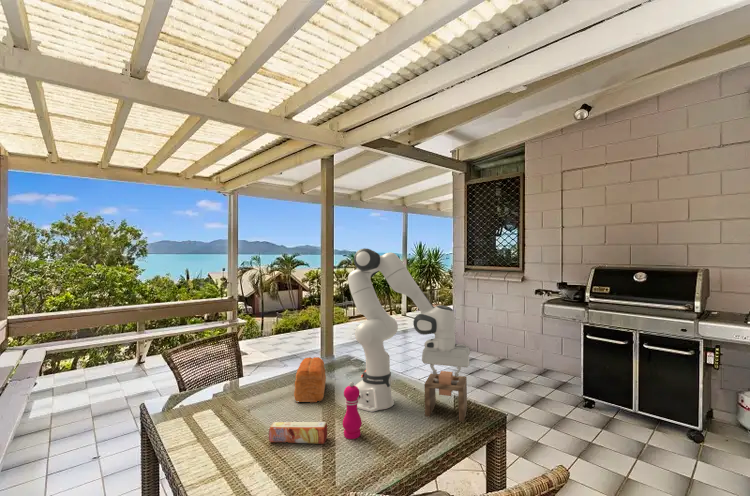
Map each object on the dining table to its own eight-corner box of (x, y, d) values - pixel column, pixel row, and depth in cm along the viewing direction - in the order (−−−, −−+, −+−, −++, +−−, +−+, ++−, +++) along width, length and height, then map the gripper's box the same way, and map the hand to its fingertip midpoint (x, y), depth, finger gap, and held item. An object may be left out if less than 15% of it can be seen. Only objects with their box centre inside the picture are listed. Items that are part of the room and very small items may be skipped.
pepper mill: (359, 440, 127) (358, 385, 128) (340, 439, 129) (339, 384, 129) (363, 431, 135) (362, 379, 135) (345, 429, 136) (345, 378, 137)
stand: (425, 416, 146) (424, 383, 147) (431, 402, 160) (430, 372, 160) (464, 421, 141) (463, 387, 141) (467, 407, 154) (466, 376, 155)
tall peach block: (439, 394, 148) (438, 375, 148) (441, 388, 155) (441, 370, 155) (450, 396, 147) (450, 376, 147) (453, 390, 153) (452, 371, 153)
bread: (326, 382, 189) (325, 354, 189) (323, 402, 162) (323, 369, 163) (300, 383, 188) (299, 355, 188) (293, 404, 161) (292, 371, 161)
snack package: (267, 444, 126) (267, 426, 126) (274, 435, 133) (274, 417, 133) (324, 447, 124) (324, 427, 124) (328, 437, 131) (328, 419, 131)
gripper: (470, 343, 151) (471, 375, 150) (423, 340, 158) (424, 370, 157) (469, 346, 145) (469, 380, 144) (420, 343, 152) (421, 375, 151)
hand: (445, 375), depth 151 cm, fingers open, 8 cm apart
